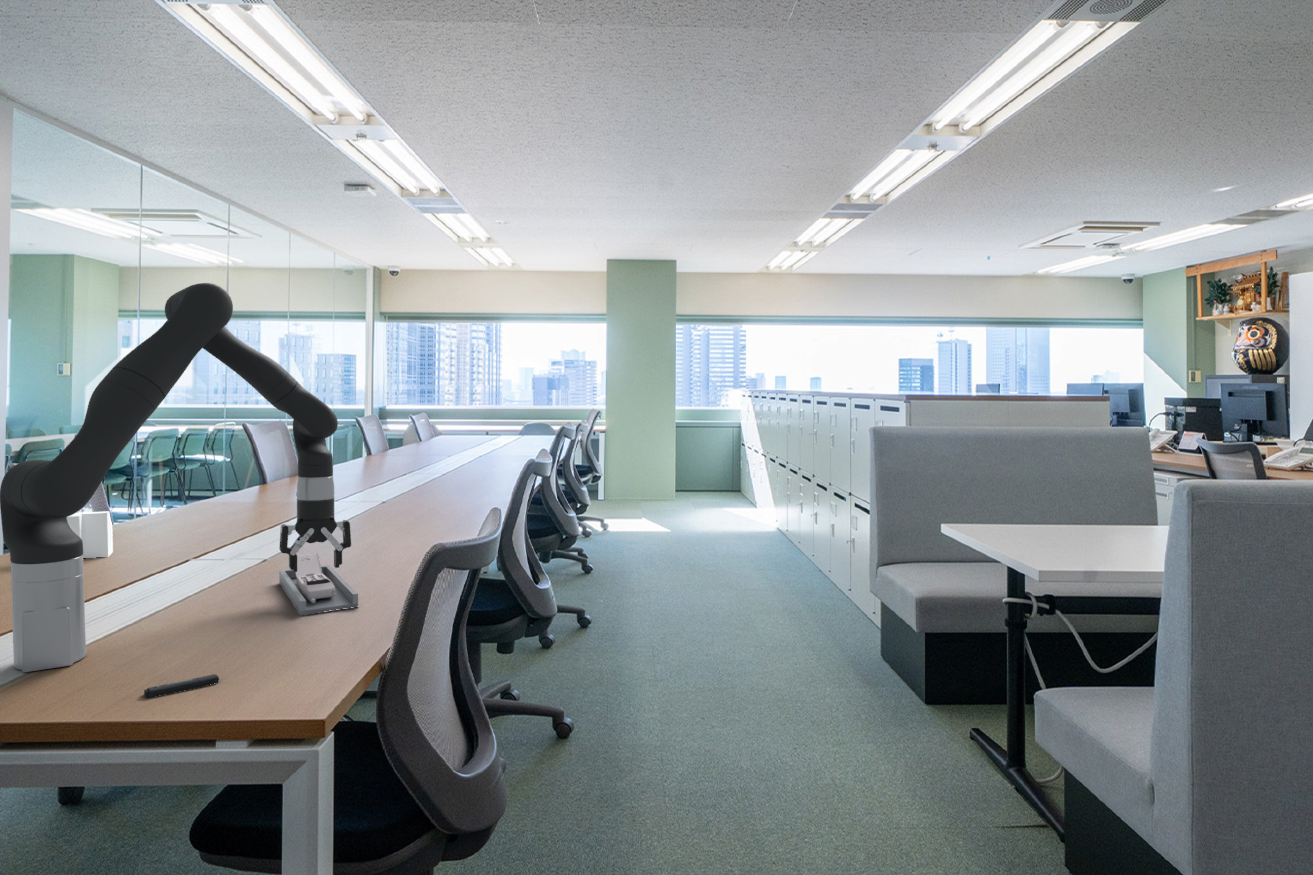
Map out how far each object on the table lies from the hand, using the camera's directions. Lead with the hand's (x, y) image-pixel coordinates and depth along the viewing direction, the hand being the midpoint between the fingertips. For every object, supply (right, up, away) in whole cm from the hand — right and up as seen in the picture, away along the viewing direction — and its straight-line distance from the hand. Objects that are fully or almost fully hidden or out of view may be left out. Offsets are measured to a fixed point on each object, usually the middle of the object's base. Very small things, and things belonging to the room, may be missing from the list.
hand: (316, 569), depth 163 cm
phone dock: (0, -6, +1) cm, 6 cm away
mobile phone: (-1, -5, 0) cm, 5 cm away
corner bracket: (-77, -3, +33) cm, 84 cm away
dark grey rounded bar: (+4, -9, -52) cm, 53 cm away
